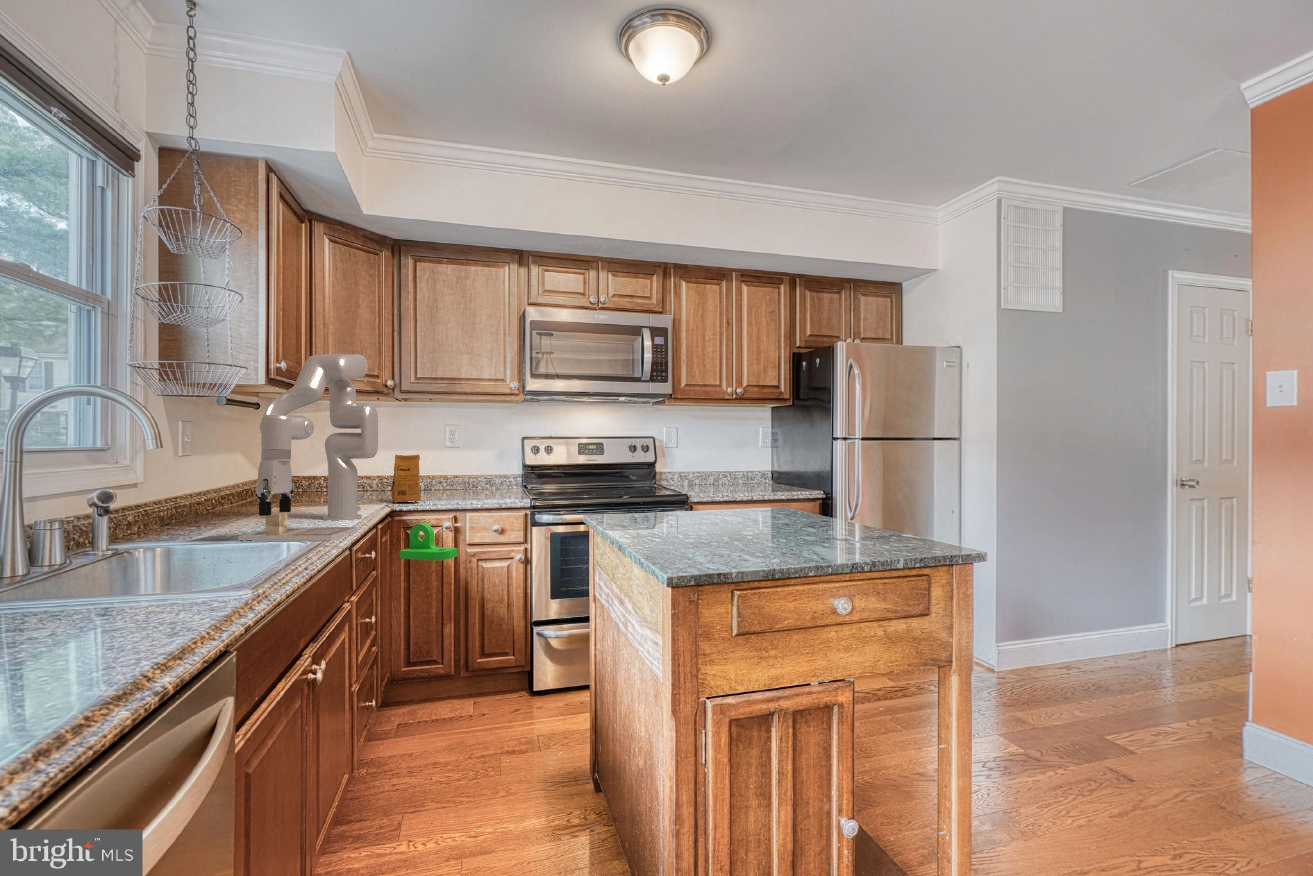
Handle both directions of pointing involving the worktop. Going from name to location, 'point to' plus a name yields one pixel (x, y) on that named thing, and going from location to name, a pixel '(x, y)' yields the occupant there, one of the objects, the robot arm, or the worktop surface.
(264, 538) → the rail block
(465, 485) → the worktop surface
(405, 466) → the coffee package
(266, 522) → the wooden cube
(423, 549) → the mechanical part
